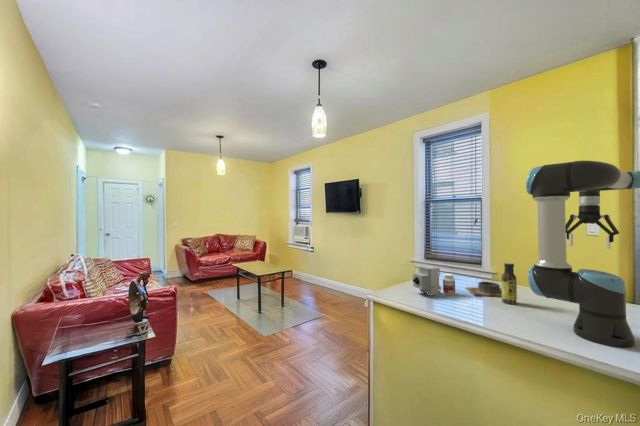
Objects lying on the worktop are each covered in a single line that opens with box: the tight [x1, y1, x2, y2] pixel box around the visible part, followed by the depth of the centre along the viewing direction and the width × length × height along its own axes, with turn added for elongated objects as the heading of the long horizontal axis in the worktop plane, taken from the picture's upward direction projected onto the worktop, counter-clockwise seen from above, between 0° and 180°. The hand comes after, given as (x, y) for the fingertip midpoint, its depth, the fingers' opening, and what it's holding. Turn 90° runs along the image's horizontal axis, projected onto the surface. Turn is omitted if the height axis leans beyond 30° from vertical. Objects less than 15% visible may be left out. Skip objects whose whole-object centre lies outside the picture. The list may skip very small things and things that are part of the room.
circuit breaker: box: [412, 265, 442, 296], centre depth 153 cm, size 8×14×15 cm, turn 107°
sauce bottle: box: [501, 262, 518, 305], centre depth 135 cm, size 6×6×20 cm
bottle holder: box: [465, 281, 502, 298], centre depth 151 cm, size 20×14×5 cm
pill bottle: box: [442, 273, 456, 296], centre depth 152 cm, size 6×6×11 cm
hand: (588, 247), depth 134 cm, fingers open, 13 cm apart
